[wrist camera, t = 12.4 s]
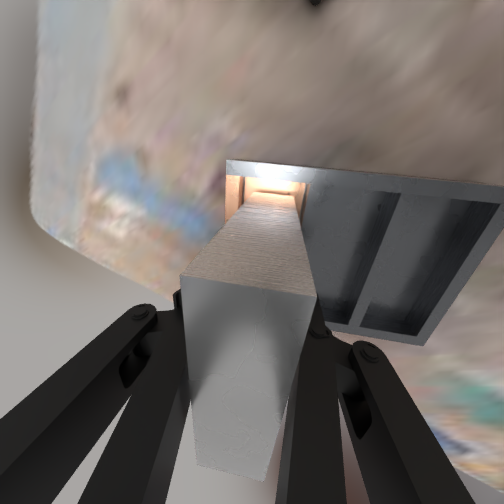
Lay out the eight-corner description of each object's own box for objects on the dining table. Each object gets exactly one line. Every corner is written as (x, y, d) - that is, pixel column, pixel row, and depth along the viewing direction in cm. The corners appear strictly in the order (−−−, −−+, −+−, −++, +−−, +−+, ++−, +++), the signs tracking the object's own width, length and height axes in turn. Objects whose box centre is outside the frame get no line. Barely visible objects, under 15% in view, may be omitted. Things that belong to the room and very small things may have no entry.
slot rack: (235, 159, 17) (226, 159, 14) (485, 183, 15) (529, 189, 12) (229, 296, 23) (222, 314, 20) (403, 324, 21) (421, 349, 18)
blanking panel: (253, 191, 15) (179, 275, 4) (293, 196, 15) (317, 296, 4) (245, 296, 20) (196, 464, 9) (275, 301, 19) (263, 481, 9)
